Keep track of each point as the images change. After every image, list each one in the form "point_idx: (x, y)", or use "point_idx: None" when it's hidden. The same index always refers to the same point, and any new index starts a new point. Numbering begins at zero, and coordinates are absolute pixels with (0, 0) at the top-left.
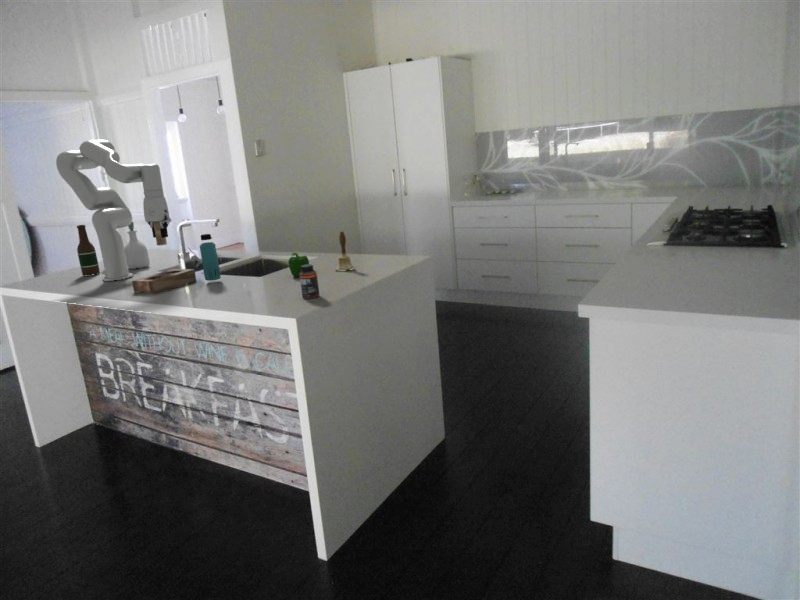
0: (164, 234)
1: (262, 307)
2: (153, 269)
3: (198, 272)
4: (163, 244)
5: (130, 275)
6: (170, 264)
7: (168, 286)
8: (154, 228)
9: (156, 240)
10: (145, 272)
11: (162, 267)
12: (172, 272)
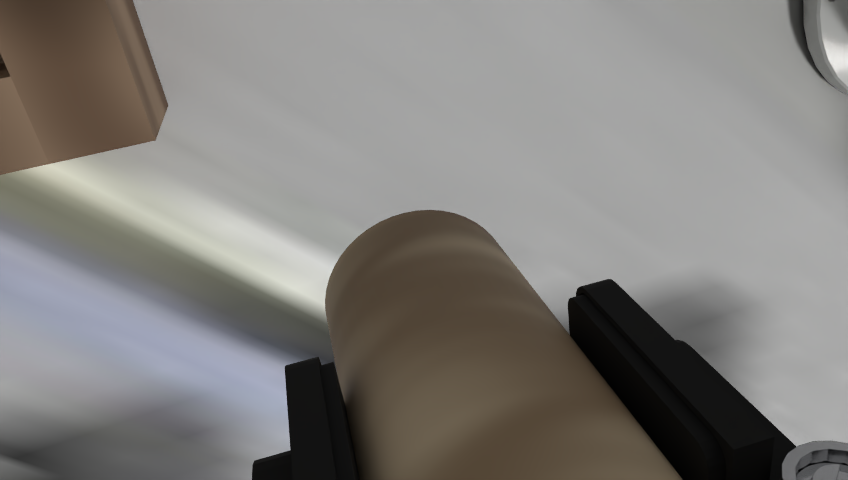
0: (258, 469)
1: None
2: (830, 307)
3: None
4: (328, 290)
5: (818, 30)
6: None
7: None
8: (635, 473)
9: (474, 255)
10: (821, 220)
11: (805, 371)
12: (2, 40)
